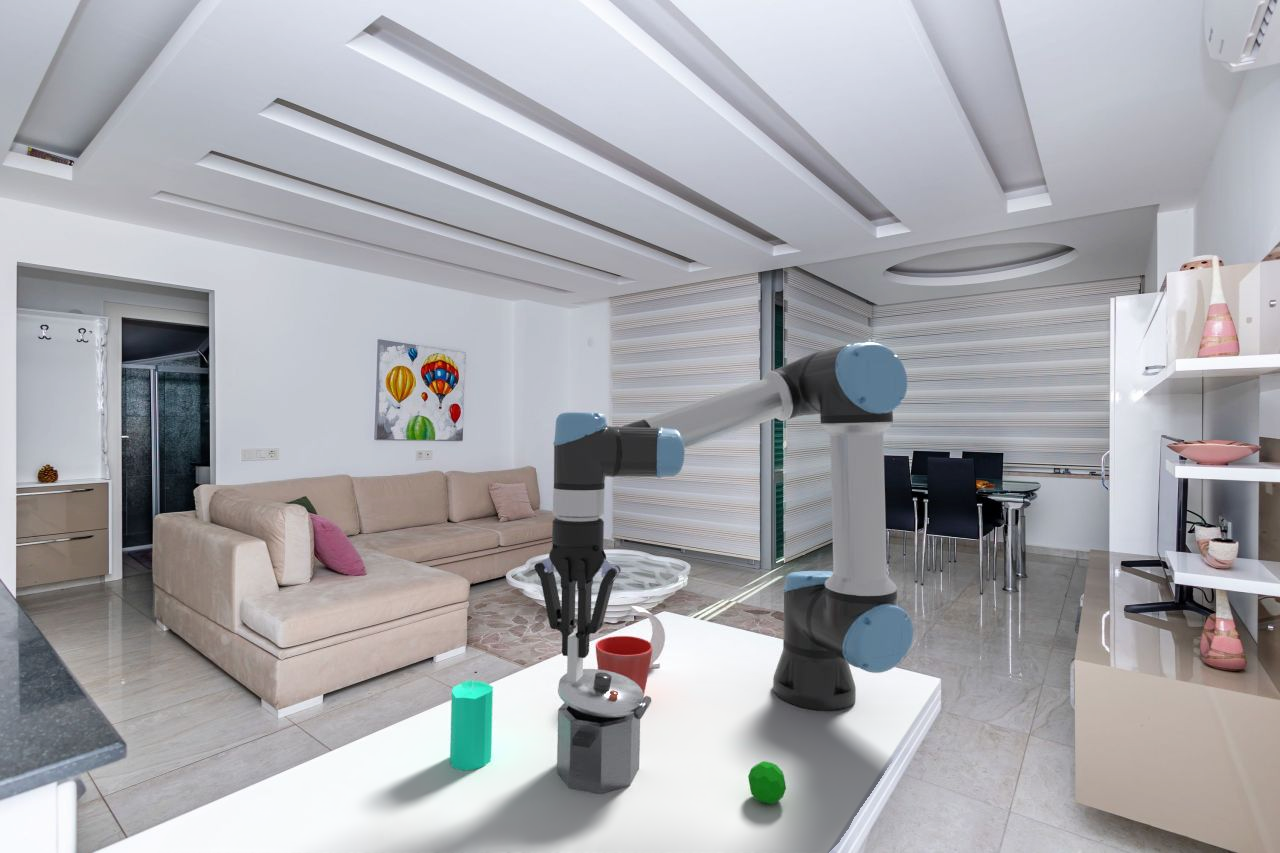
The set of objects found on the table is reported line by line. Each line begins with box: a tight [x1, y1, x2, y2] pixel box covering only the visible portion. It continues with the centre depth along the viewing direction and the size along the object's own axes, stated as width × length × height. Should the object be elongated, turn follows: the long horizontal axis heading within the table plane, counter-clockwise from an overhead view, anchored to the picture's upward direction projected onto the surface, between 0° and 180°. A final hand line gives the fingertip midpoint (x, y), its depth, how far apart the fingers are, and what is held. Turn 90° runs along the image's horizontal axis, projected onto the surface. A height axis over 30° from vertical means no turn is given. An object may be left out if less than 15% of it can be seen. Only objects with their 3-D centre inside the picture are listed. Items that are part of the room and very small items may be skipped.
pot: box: [556, 702, 641, 795], centre depth 91 cm, size 11×15×9 cm
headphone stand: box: [630, 605, 666, 670], centre depth 132 cm, size 5×6×12 cm
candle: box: [449, 677, 494, 771], centre depth 93 cm, size 6×6×12 cm
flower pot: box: [595, 635, 653, 698], centre depth 116 cm, size 11×11×10 cm
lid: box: [557, 668, 652, 720], centre depth 90 cm, size 13×12×3 cm
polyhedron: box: [747, 760, 787, 805], centre depth 84 cm, size 5×5×5 cm
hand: (574, 678), depth 92 cm, fingers closed
